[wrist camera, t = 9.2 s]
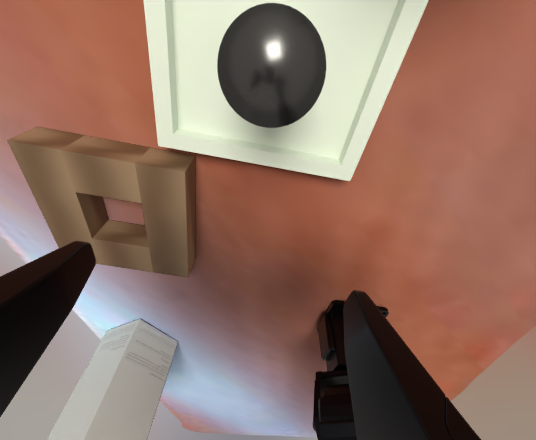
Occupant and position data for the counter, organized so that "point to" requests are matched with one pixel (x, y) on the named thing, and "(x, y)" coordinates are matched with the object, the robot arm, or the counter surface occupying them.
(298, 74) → the pin
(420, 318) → the counter surface
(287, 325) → the counter surface
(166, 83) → the tray
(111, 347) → the supplement box
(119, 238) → the socket
